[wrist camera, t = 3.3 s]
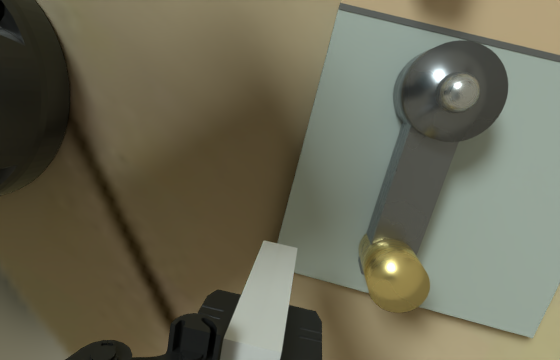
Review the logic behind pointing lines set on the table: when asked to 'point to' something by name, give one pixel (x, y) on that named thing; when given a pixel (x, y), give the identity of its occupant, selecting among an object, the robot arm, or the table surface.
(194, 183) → the table surface
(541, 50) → the door board
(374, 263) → the swing bar
